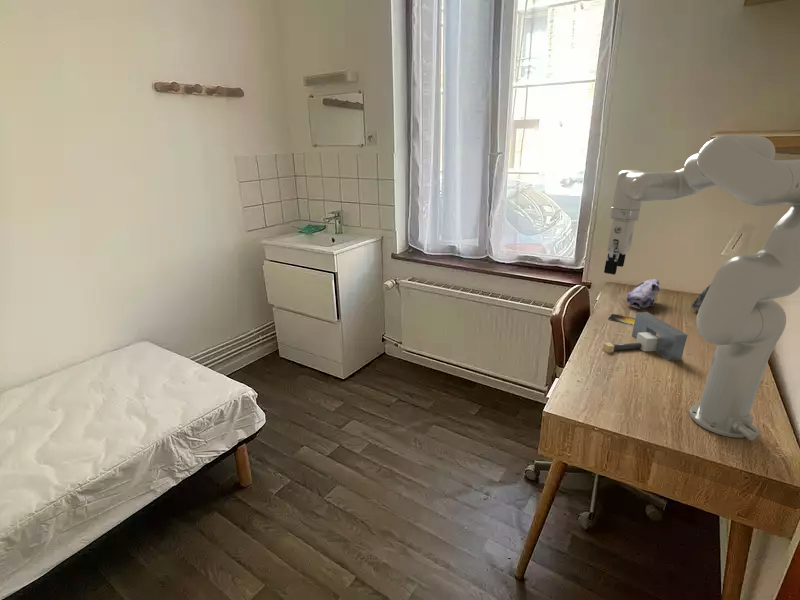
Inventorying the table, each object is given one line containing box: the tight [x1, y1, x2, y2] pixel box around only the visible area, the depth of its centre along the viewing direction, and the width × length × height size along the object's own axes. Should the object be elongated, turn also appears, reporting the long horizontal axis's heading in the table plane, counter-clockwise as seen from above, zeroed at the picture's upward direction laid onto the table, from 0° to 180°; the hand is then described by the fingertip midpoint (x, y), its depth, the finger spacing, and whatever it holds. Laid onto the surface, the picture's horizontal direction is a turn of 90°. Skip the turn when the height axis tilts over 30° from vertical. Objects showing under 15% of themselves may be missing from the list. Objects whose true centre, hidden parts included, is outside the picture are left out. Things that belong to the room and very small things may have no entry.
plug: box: [602, 332, 659, 354], centre depth 140 cm, size 4×16×4 cm, turn 98°
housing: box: [631, 311, 688, 362], centre depth 140 cm, size 18×4×8 cm, turn 8°
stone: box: [691, 283, 711, 312], centre depth 167 cm, size 13×13×15 cm
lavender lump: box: [626, 278, 662, 310], centre depth 174 cm, size 10×18×10 cm, turn 127°
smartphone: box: [607, 313, 636, 326], centre depth 161 cm, size 7×1×15 cm
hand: (613, 269), depth 135 cm, fingers open, 9 cm apart
